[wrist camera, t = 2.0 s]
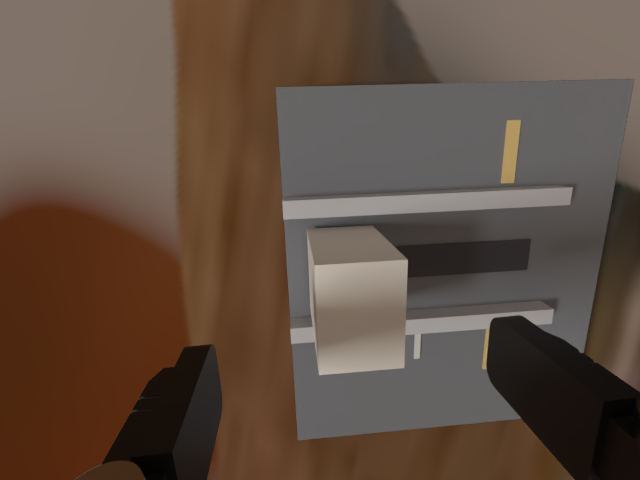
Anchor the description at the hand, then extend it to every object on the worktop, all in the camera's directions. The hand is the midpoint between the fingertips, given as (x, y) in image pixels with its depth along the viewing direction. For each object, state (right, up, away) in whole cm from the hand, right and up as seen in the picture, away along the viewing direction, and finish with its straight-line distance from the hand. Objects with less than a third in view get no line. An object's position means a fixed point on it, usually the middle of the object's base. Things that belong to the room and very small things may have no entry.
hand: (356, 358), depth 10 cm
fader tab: (0, +2, +6) cm, 7 cm away
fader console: (+5, +2, +10) cm, 11 cm away
